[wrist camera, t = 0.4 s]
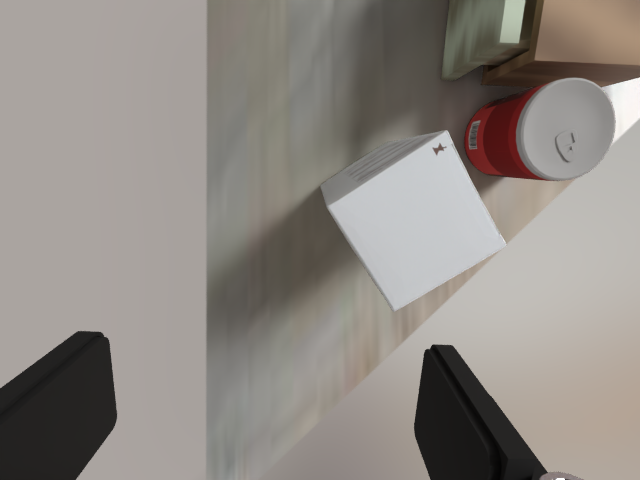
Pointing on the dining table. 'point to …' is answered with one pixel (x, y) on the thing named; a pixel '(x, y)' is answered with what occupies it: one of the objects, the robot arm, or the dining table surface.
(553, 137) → the canned food
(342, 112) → the dining table surface
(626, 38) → the cabinet
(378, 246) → the supplement box
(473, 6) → the drawer
